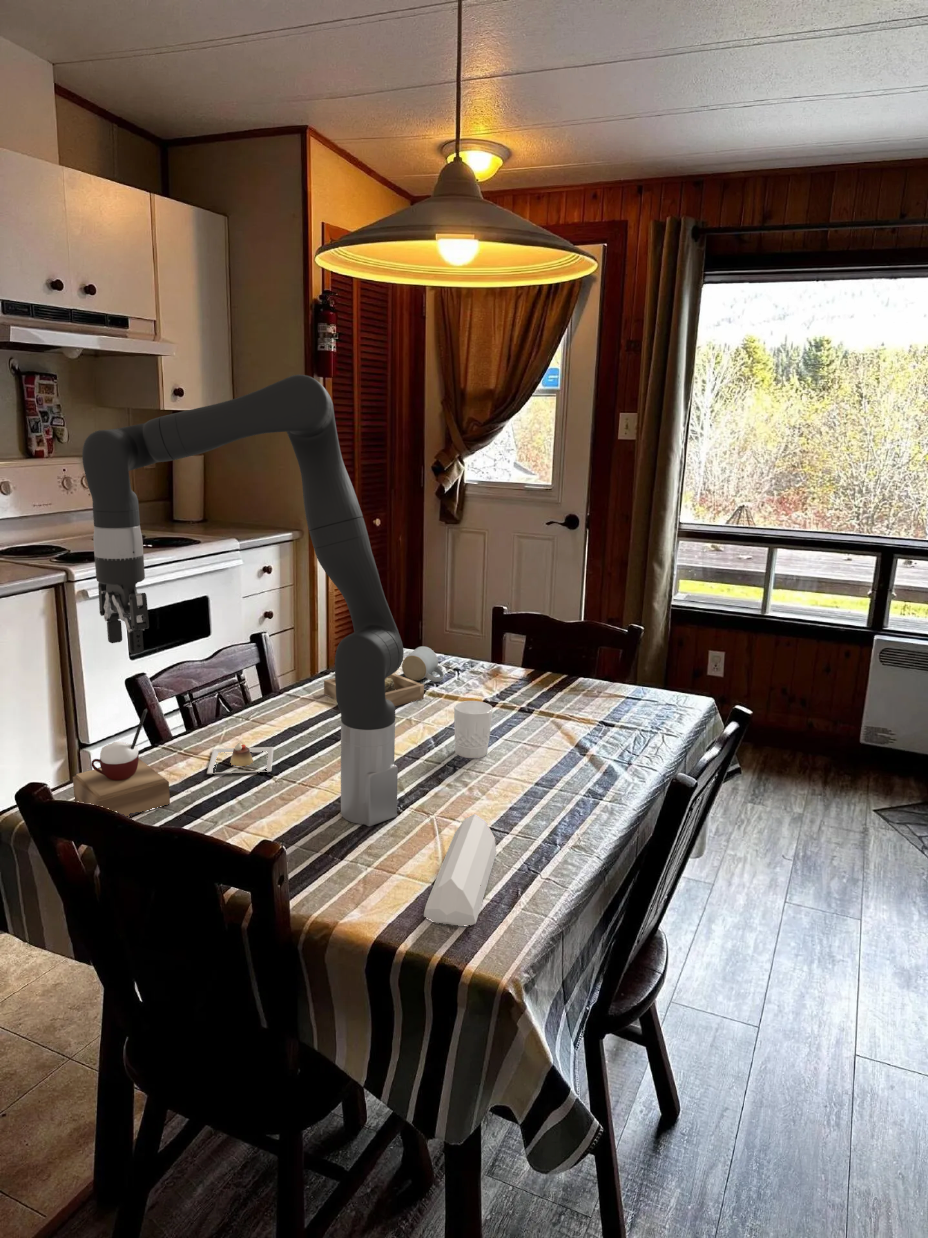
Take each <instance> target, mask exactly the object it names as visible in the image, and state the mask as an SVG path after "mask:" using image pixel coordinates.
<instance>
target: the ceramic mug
mask: <svg viewBox="0 0 928 1238" xmlns="http://www.w3.org/2000/svg"><path fill="white" fill-rule="evenodd" d="M438 665H439V659H438V656H437V654H436V652H435V651H434V649H433V650H432V648H430V647H428V646H418V647H416V648H415V649H413V651H411V652H410V653H408V655H406V656H405V658H403V661H402V664H401V670H402V673H403V674H404V677H405V678H407V679H410V680H412V681H415V682H417V681H422V680H423V679H424V678H426V679H427V680H429V681H432V682H434V683H440V682H441V681H442V680H443V679H444V677H445V673H444V671H443V670H442V669H441V668H440V667H439V666H438ZM432 673H437V674H438V675H439V676H434V675H433V674H432Z"/></svg>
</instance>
